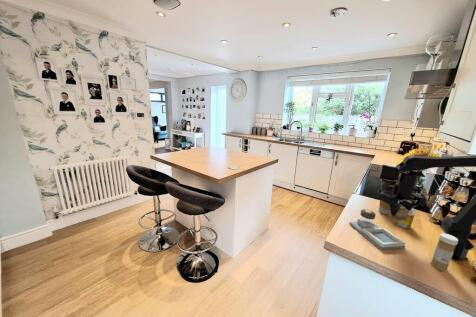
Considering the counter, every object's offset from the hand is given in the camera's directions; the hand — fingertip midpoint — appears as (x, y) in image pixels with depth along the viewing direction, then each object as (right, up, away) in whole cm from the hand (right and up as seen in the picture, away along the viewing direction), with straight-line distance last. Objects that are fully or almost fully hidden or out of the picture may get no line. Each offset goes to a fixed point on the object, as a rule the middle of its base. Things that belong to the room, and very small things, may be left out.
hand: (397, 215), depth 87 cm
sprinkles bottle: (+4, -16, -14) cm, 22 cm away
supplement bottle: (+14, -9, +13) cm, 21 cm away
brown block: (0, -1, 0) cm, 1 cm away
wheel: (-9, -3, +8) cm, 12 cm away
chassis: (-8, -10, +3) cm, 14 cm away
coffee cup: (+14, -6, +25) cm, 30 cm away
